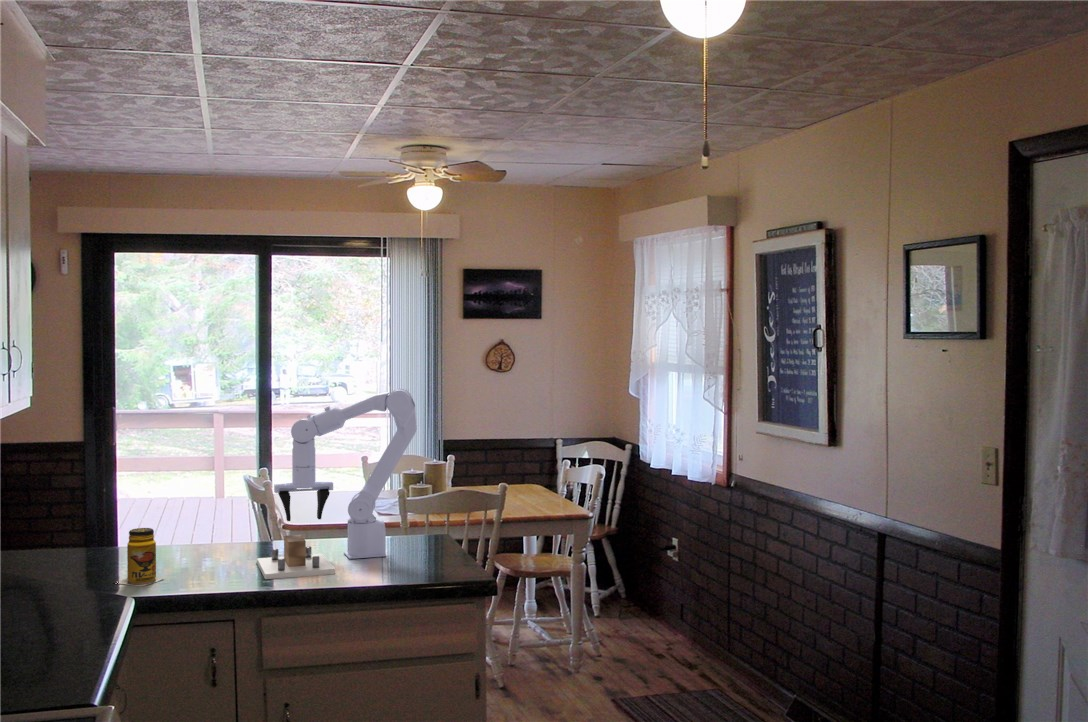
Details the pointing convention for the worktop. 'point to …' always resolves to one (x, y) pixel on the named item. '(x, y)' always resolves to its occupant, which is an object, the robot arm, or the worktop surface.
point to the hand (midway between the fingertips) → (303, 519)
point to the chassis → (280, 569)
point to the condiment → (141, 558)
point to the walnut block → (294, 550)
